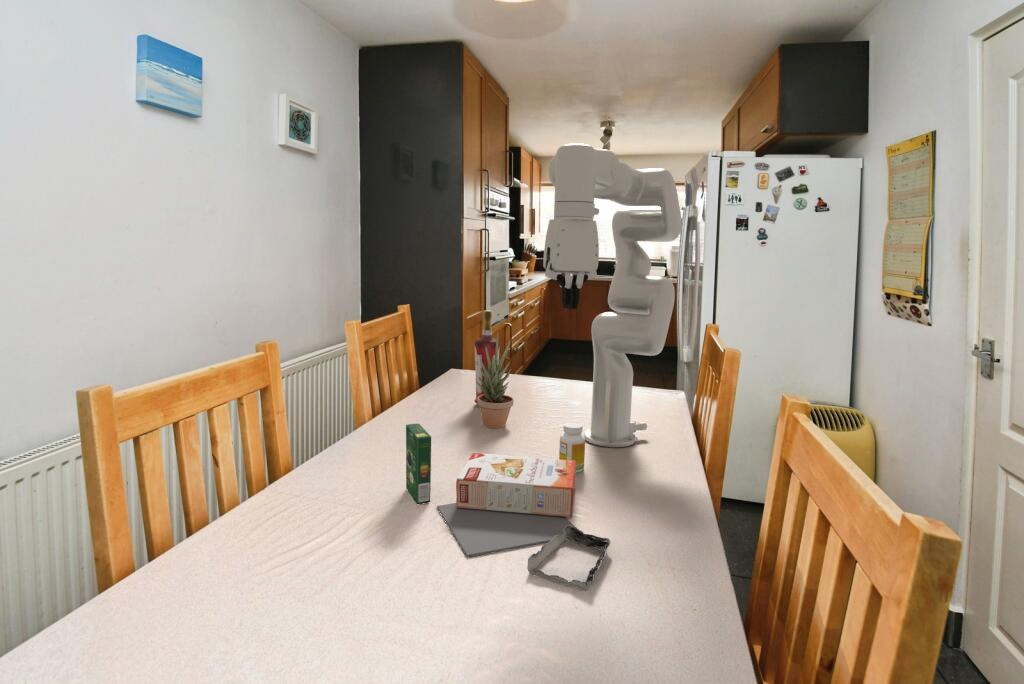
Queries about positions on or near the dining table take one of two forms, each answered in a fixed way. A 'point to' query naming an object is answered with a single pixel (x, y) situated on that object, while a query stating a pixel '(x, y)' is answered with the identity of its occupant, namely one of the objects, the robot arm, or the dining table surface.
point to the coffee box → (418, 463)
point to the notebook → (499, 528)
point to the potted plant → (495, 392)
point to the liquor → (484, 351)
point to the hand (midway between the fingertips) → (569, 308)
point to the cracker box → (517, 484)
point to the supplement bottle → (573, 445)
